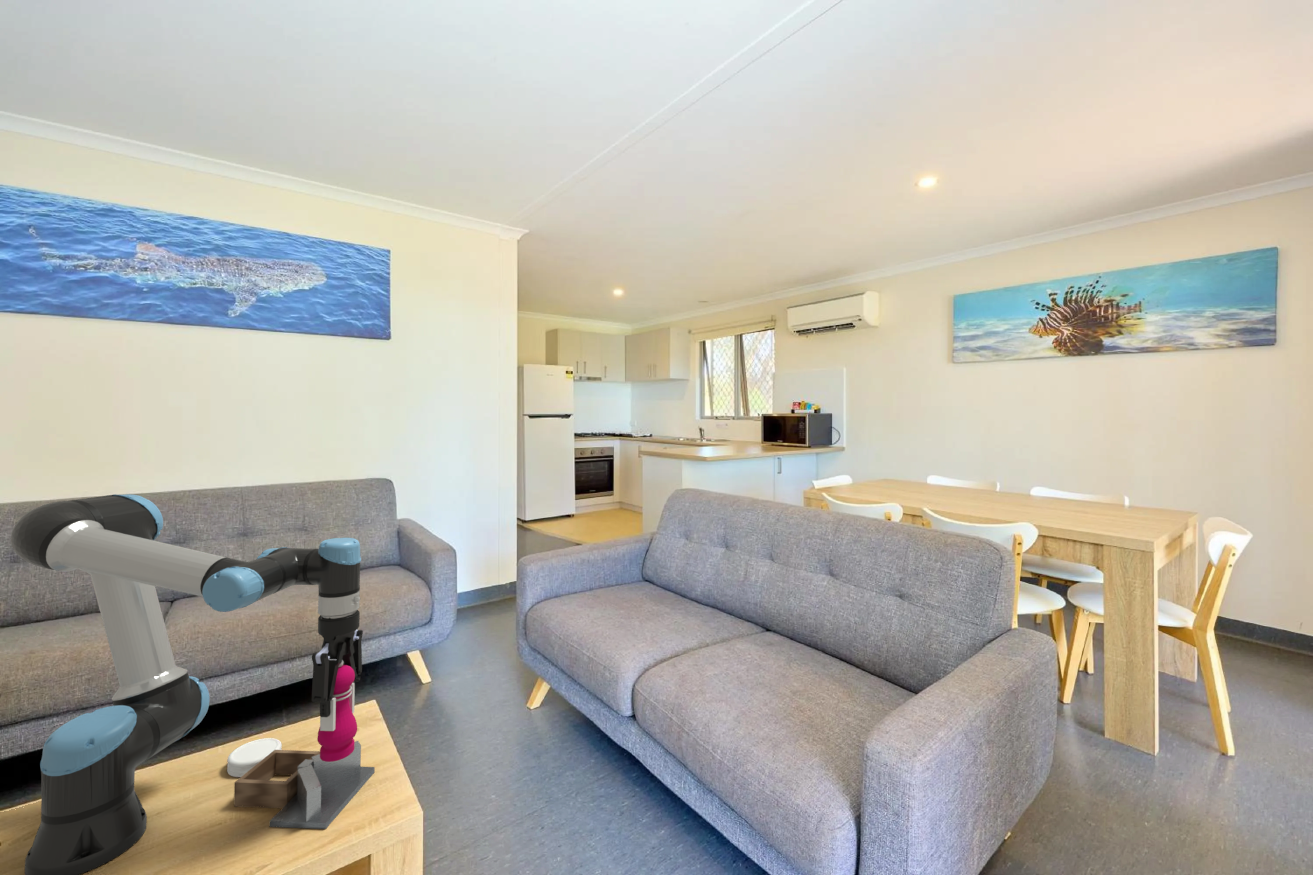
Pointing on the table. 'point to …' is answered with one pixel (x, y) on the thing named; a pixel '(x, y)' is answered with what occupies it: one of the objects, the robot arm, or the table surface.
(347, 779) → the v block
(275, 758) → the wooden square frame
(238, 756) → the coaster
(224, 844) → the table surface
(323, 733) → the pepper mill
